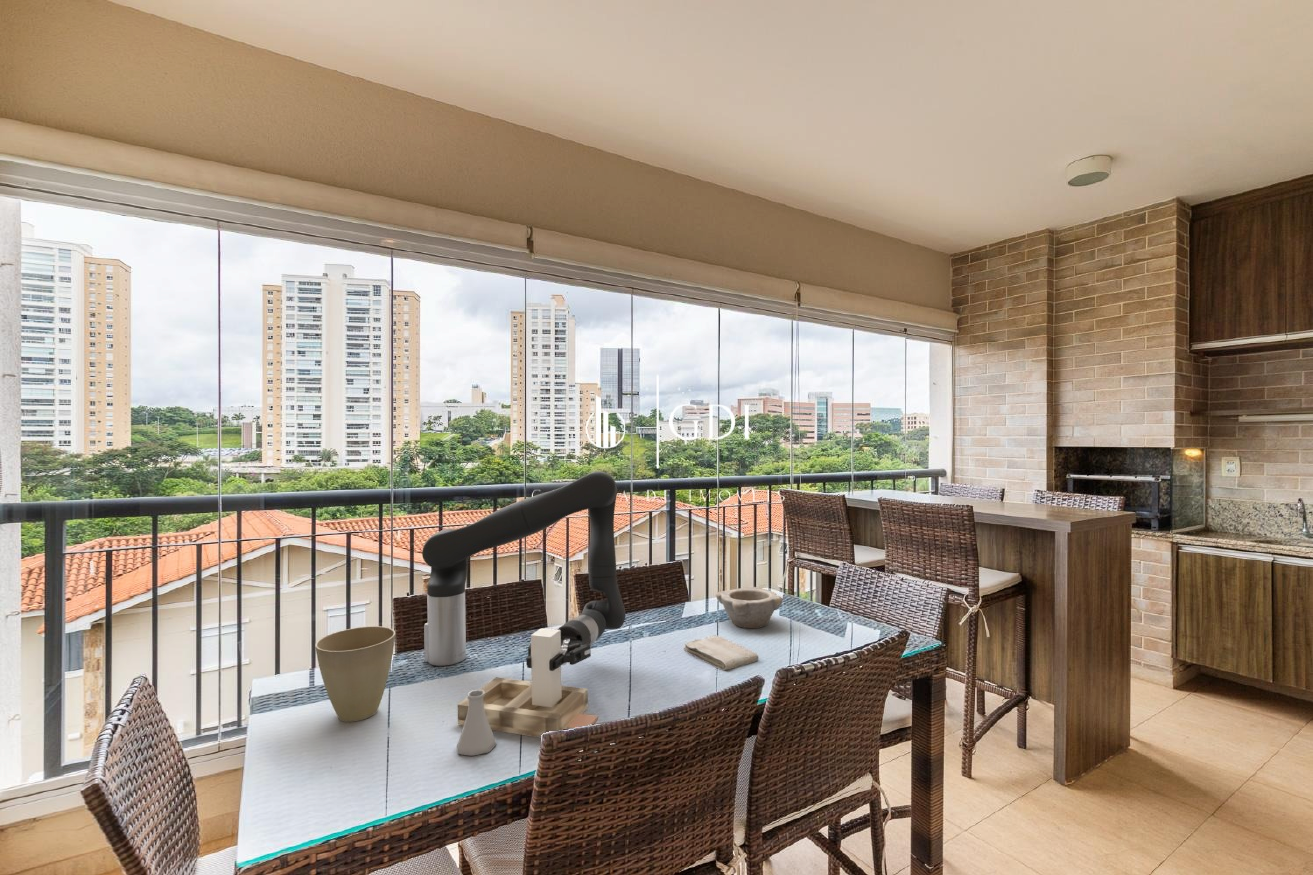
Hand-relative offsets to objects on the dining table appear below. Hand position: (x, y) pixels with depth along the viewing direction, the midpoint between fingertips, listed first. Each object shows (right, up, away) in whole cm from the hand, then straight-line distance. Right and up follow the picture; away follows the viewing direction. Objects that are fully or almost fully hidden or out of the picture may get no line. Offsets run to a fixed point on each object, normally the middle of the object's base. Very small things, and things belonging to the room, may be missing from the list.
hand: (540, 664), depth 119 cm
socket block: (-2, -12, +3) cm, 13 cm away
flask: (-10, -13, -8) cm, 18 cm away
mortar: (+51, -11, +62) cm, 81 cm away
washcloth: (+40, -12, +37) cm, 55 cm away
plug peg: (+1, -8, +3) cm, 9 cm away
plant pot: (-39, -13, +6) cm, 42 cm away
